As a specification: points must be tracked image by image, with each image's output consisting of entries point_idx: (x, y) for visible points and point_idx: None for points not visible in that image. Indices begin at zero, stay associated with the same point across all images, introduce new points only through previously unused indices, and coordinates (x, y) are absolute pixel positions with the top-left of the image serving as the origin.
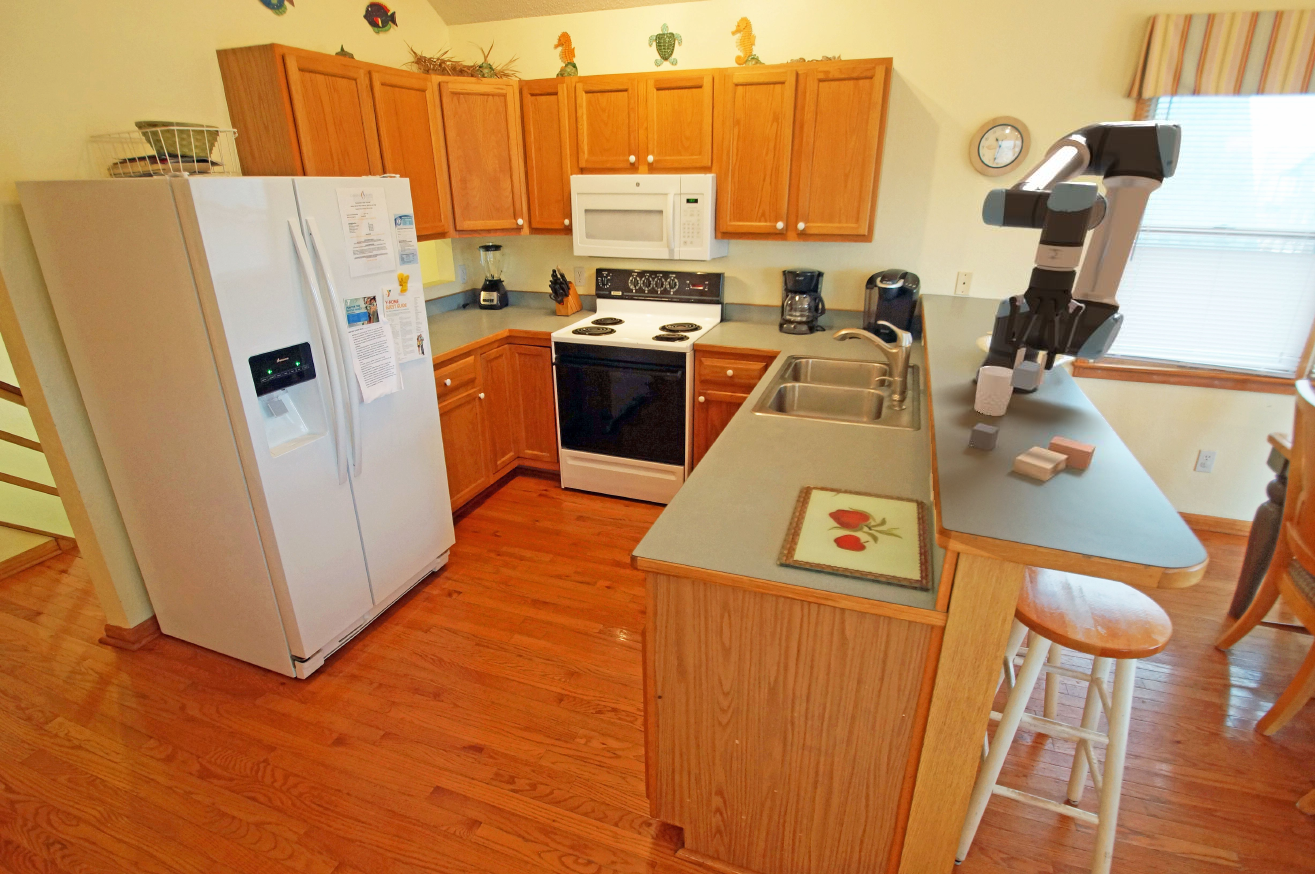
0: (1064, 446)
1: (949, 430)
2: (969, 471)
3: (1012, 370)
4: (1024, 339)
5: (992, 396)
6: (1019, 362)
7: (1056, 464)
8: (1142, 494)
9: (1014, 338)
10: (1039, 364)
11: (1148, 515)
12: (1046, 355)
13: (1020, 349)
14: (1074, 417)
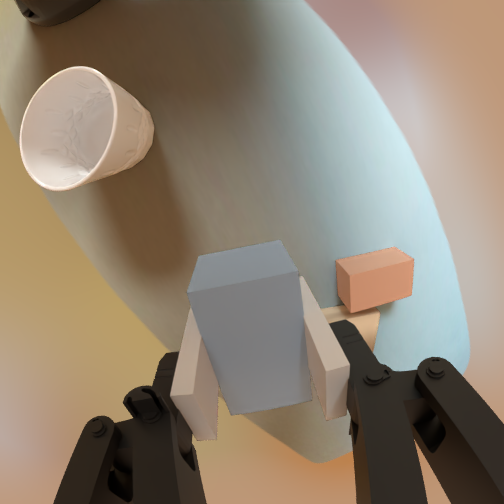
0: (373, 305)
1: (153, 319)
2: (276, 409)
3: (85, 70)
4: (184, 463)
5: (115, 171)
6: (215, 384)
7: (372, 351)
8: (451, 288)
9: (112, 440)
10: (274, 297)
11: (452, 332)
12: (343, 413)
13: (197, 429)
14: (269, 8)
